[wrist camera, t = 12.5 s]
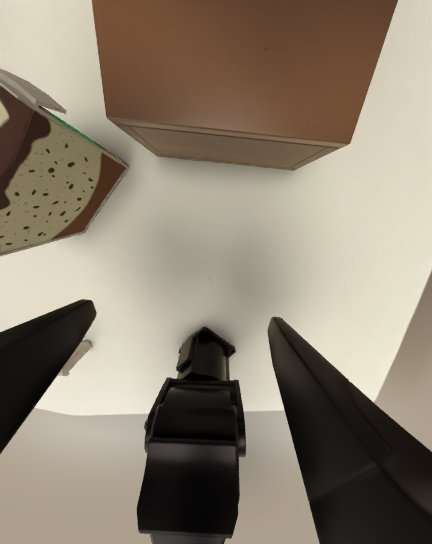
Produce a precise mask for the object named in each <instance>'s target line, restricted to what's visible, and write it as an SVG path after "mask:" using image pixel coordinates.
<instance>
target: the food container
mask: <svg viewBox="0 0 432 544" xmlns="http://www.w3.org/2000/svg"><path fill="white" fill-rule="evenodd" d="M42 106H43V107H46V108H49V109H52V110H55V111H58V112H61V113H64V114H66V110H65V109H64V108H63V107H61V106H60V105H59V104H58V103H57V102H56V101H54V100H53V99H52V98H51V97H50V96H49V95H47V94H46V93H44V92H43V91H41V90H40V89H38V88H37V87H35V86H34V85H32V84H31V83H29V82H28V81H25V80H23V79H21V78H19V77H17V76H15V75H13V74H11V73H9V72H7V71H5V70H2V69H0V256H3V255H7V254H10V253H14V252H17V251H21V250H25V249H28V248H32V247H35V246H39V245H42V244H46V243H50V242H53V241H57V240H60V239H64V238H67V237H71V236H75V235H78V234H82V233H85V231H86V230H87V228H88V227H89V226H90V224H91V223H92V221H93V220H94V218H95V217H96V215H97V214H98V212H99V211H100V209H101V208H102V207H103V205H104V204H105V202H106V201H107V199H108V198H109V196H110V195H111V193H112V192H113V190H114V189H115V188H116V186H117V185H118V183H119V182H120V180H121V179H122V177H123V176H124V174H125V173H126V171H127V170H128V169H129V166H128V165H127V164H125V163H124V162H123V161H122V160H121V159H120V158H118V157H117V156H115V155H114V154H112V153H111V152H109V151H108V150H106V149H105V148H103V147H102V146H100V145H99V144H97V143H96V142H94V141H93V140H91V139H90V138H88V137H87V136H85V135H84V134H82V133H81V132H79V131H78V130H76V129H75V128H73V127H72V126H70V125H69V124H67V123H66V122H64V121H63V120H61V119H60V118H58V117H57V116H55V115H54V114H52V113H51V112H49V111H48V110H46V109H45V108H43V107H42Z"/></svg>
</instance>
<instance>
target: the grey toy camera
mask: <svg viewBox="0 0 432 544" xmlns="http://www.w3.org/2000/svg"><path fill="white" fill-rule="evenodd" d="M91 347H92V346H91V344H90V342H89V341H82V342H81V343H80V344H79V346H78V347H77V349H76V350H75V352H74V353H73V354H72V356H71V357H70V359H69V360H68V361H67V363H66V364H65V365H64V367H63V368H62V370H61V371H60V372H59V374H58V375H57V376H68V375H69V374H70V373H69V371H70V370H71V369H72V367H73V366H74V365H75V364H76V363H77V362H78V361H79V360H80V359H81V358H82V356H83V355H84V354H85V353H86V352H87V351H88V350H89V349H90V348H91Z"/></svg>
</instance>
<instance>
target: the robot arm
mask: <svg viewBox="0 0 432 544" xmlns="http://www.w3.org/2000/svg"><path fill="white" fill-rule="evenodd" d="M95 317H96V310H95V307H94V304H93V302H92V301H91V300H85V299H82V300H79V301H77V302H74V303H72V304H69V305H67V306H64V307H62V308H59V309H57V310H54V311H52V312H49V313H47V314H44V315H42V316H39V317H37V318H35V319H32V320H30V321H27V322H25V323H22V324H20V325H17V326H15V327H12V328H10V329H7V330H5V331H2V332H0V454H1V452H2V451H3V450H4V448H5V447H6V445H7V444H8V443H9V441H10V440H11V439H12V437H13V436H14V434H15V433H16V432H17V430H18V429H19V428H20V426H21V425H22V423H23V422H24V421H25V419H26V418H27V417H28V415H29V414H30V412H31V411H32V410H33V408H34V407H35V406H36V404H37V403H38V401H39V400H40V399H41V397H42V396H43V394H44V393H45V392H46V390H47V389H48V388H49V386H50V385H51V383H52V382H53V381H54V379H55V378H56V377H57V375H58V374H59V372H60V371H61V370H62V368H63V367H64V365H65V364H66V363H67V361H68V360H69V359H70V357H71V356H72V354H73V353H74V352H75V350H76V349H77V347H78V346H79V344H80V343H81V341H82V339H83V338H84V336H85V334H86V333H87V331H88V329H89V328H90V326H91V324H92V323H93V321H94V319H95ZM268 338H269V344H270V351H271V357H272V363H273V367H274V371H275V375H276V379H277V383H278V386H279V390H280V394H281V398H282V402H283V405H284V409H285V413H286V417H287V421H288V424H289V428H290V432H291V435H292V440H293V443H294V447H295V451H296V455H297V459H298V462H299V466H300V470H301V473H302V478H303V481H304V485H305V489H306V492H307V497H308V500H309V504H310V509H311V512H312V516H313V519H314V524H315V528H316V531H317V535H318V539H319V542H320V544H432V452H431V451H430V450H429V449H428V448H426V447H425V446H424V445H423V444H422V443H420V442H419V441H418V440H417V439H416V438H414V437H413V436H412V435H411V434H410V433H408V432H407V431H406V430H405V429H404V428H402V427H401V426H400V425H399V424H398V423H396V422H395V421H394V420H393V419H392V418H391V417H389V416H388V415H387V414H386V413H385V412H384V411H382V410H381V409H380V408H379V407H378V406H376V405H375V404H374V403H373V402H372V401H371V400H370V399H369V398H368V397H367V396H365V395H364V394H363V393H362V392H361V391H360V390H359V389H358V388H357V387H356V386H355V385H353V384H352V383H351V382H349V380H348V379H347V378H346V377H345V376H344V375H342V374H341V373H340V372H339V371H338V370H337V369H336V368H335V367H334V366H333V365H332V364H331V363H329V362H328V361H327V360H326V359H325V358H324V357H323V356H322V355H321V354H320V353H319V352H318V351H316V350H315V349H314V348H313V347H312V346H311V345H310V344H309V343H308V342H307V341H306V340H305V339H303V338H302V337H301V336H300V335H299V334H298V333H297V332H296V331H295V330H294V329H293V328H292V327H290V326H289V325H288V324H287V323H286V322H285V321H284V320H283V319H282V318H280V317H272V318H271V321H270V324H269V327H268ZM235 352H236V350H235V347H233V346H232V345H230V344H229V343H228V342H226V341H225V340H223V339H222V338H220V337H219V336H218V335H216V334H215V333H213V332H212V331H211V330H209V329H208V328H206V327H204V328H202V329H201V330H200V331H199V332H198V333H196V334H195V335H193V336H191V337H190V338H189V339H188V340H187V341H186V342H185V343H184V344H183V345H182V347H181V348H180V349H179V354H180V356H179V359H178V363H177V367H176V370H177V371H178V376H177V379H172V378H167V379H166V381H165V383H164V384H163V386H162V388H161V390H160V392H159V394H158V396H157V398H156V400H155V403H154V405H153V407H152V409H151V411H150V413H149V416H148V419H147V420H146V422H145V426H144V428H145V431H146V435H145V451H146V453H147V460H146V467H145V473H144V478H143V482H142V487H141V492H140V496H139V501H138V505H137V519H138V530H139V533H144V534H150V537H151V541H152V544H224V542H225V539H226V538H230V539H231V538H232V535H233V532H234V528H235V524H236V521H237V517H238V502H239V495H240V494H239V457H245V455H246V436H245V421H244V412H243V405H242V399H241V393H240V386H239V380H234V381H230V377H229V357H230V356H231V355H233V354H234V353H235Z"/></svg>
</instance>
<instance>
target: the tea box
mask: <svg viewBox="0 0 432 544" xmlns="http://www.w3.org/2000/svg"><path fill="white" fill-rule="evenodd" d="M115 125H116V126H118V127H119V128H120V129H122V130H123V131H124V132H126V133H127V134H128V135H130V136H131V137H132V138H134V139H135V140H136V141H138V142H139V143H140V144H142V145H143V146H144V147H146V148H147V149H148V150H150V151H151V152H152V153H154V154H155V155H156V156H161V157H171V158H180V159H190V160H199V161H209V162H219V163H228V164H238V165H247V166H257V167H266V168H276V169H285V170H296V169H297V168H300V167H302V166H304V165H306V164H308V163H310V162H312V161H314V160H317V159H319V158H321V157H323V156H325V155H327V154H329V153H331V152H333V151H335V150H338V149H340V147H330V146H321V145H311V144H302V143H293V142H283V141H274V140H264V139H255V138H245V137H236V136H227V135H217V134H208V133H198V132H189V131H179V130H170V129H161V128H151V127H142V126H132V125H123V124H115Z"/></svg>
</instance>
